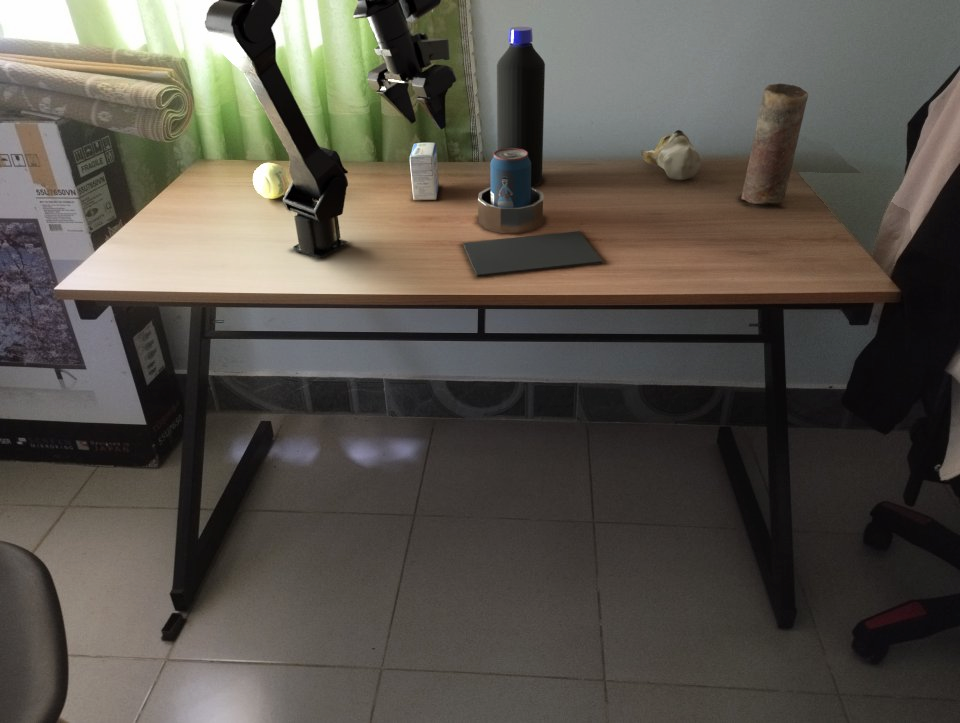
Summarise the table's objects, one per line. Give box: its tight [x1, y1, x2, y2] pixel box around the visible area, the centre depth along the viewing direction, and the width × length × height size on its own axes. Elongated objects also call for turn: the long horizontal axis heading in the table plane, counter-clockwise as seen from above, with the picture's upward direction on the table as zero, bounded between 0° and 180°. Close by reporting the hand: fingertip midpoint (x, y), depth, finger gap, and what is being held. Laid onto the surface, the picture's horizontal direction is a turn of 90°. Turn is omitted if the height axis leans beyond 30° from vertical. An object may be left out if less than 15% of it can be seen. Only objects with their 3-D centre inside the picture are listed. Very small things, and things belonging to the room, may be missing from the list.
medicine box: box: [409, 142, 440, 201], centre depth 140 cm, size 8×4×9 cm, turn 179°
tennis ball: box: [252, 162, 290, 199], centre depth 141 cm, size 6×7×7 cm
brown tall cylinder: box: [740, 83, 809, 206], centre depth 130 cm, size 8×7×20 cm
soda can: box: [489, 148, 531, 207], centre depth 127 cm, size 7×7×12 cm
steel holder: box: [477, 186, 544, 234], centre depth 130 cm, size 11×11×4 cm
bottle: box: [496, 26, 546, 188], centre depth 140 cm, size 9×9×28 cm
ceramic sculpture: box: [640, 129, 702, 181], centre depth 148 cm, size 11×9×15 cm
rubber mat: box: [462, 230, 603, 278], centre depth 119 cm, size 20×12×1 cm, turn 101°
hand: (427, 125), depth 128 cm, fingers open, 9 cm apart
